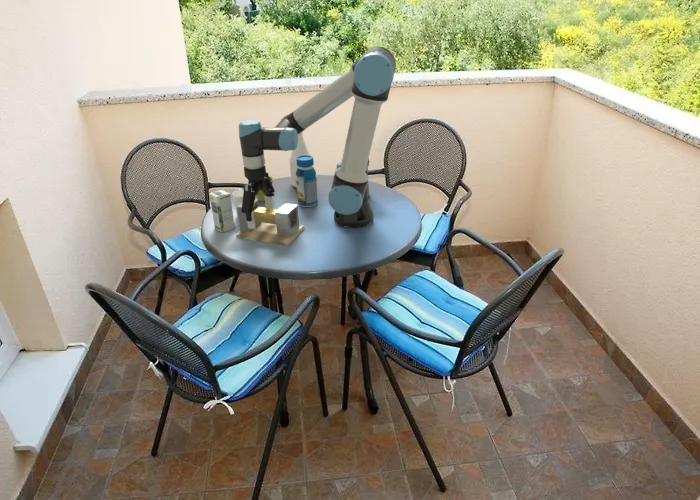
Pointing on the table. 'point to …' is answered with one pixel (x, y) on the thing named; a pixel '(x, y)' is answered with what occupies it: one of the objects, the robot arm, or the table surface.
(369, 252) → the table surface
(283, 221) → the grey rectangular block
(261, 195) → the plant pot
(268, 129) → the robot arm
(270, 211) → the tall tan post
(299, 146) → the wine bottle
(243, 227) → the socket
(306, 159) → the beverage bottle
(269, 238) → the board
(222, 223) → the syrup box
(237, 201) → the white cup
